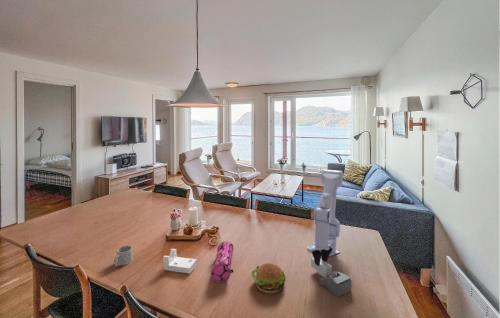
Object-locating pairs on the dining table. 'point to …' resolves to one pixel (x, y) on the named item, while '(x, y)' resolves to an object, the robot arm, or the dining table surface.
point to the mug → (124, 256)
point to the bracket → (178, 263)
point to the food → (269, 278)
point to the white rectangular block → (322, 267)
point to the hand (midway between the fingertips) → (320, 263)
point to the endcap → (337, 283)
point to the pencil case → (222, 262)
